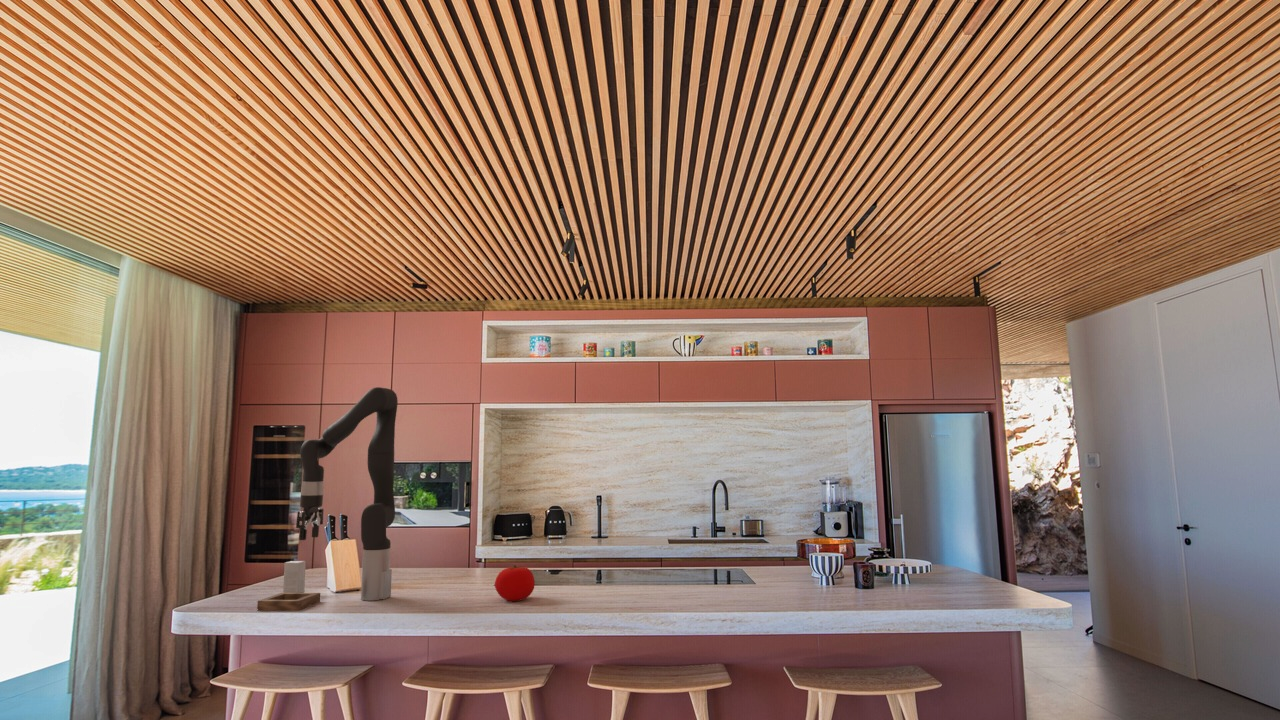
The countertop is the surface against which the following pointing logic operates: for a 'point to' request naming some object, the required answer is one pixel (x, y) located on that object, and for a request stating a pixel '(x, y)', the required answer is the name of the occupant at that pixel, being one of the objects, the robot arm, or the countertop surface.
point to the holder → (288, 601)
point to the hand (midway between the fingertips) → (308, 538)
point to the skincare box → (294, 577)
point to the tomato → (515, 583)
